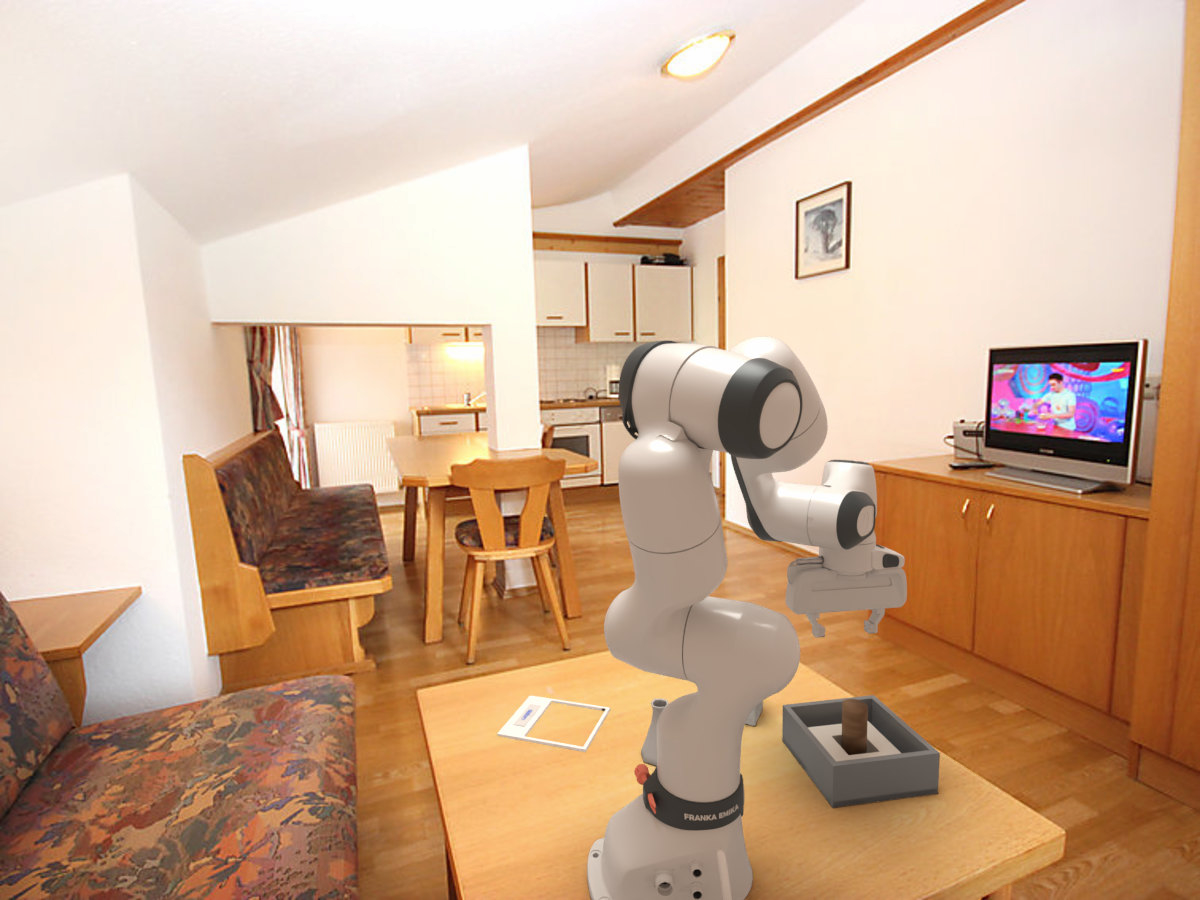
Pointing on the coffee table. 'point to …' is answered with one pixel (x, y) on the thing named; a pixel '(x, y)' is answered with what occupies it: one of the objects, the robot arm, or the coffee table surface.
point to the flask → (653, 733)
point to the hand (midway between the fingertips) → (844, 634)
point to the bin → (880, 774)
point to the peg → (854, 726)
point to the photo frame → (530, 715)
